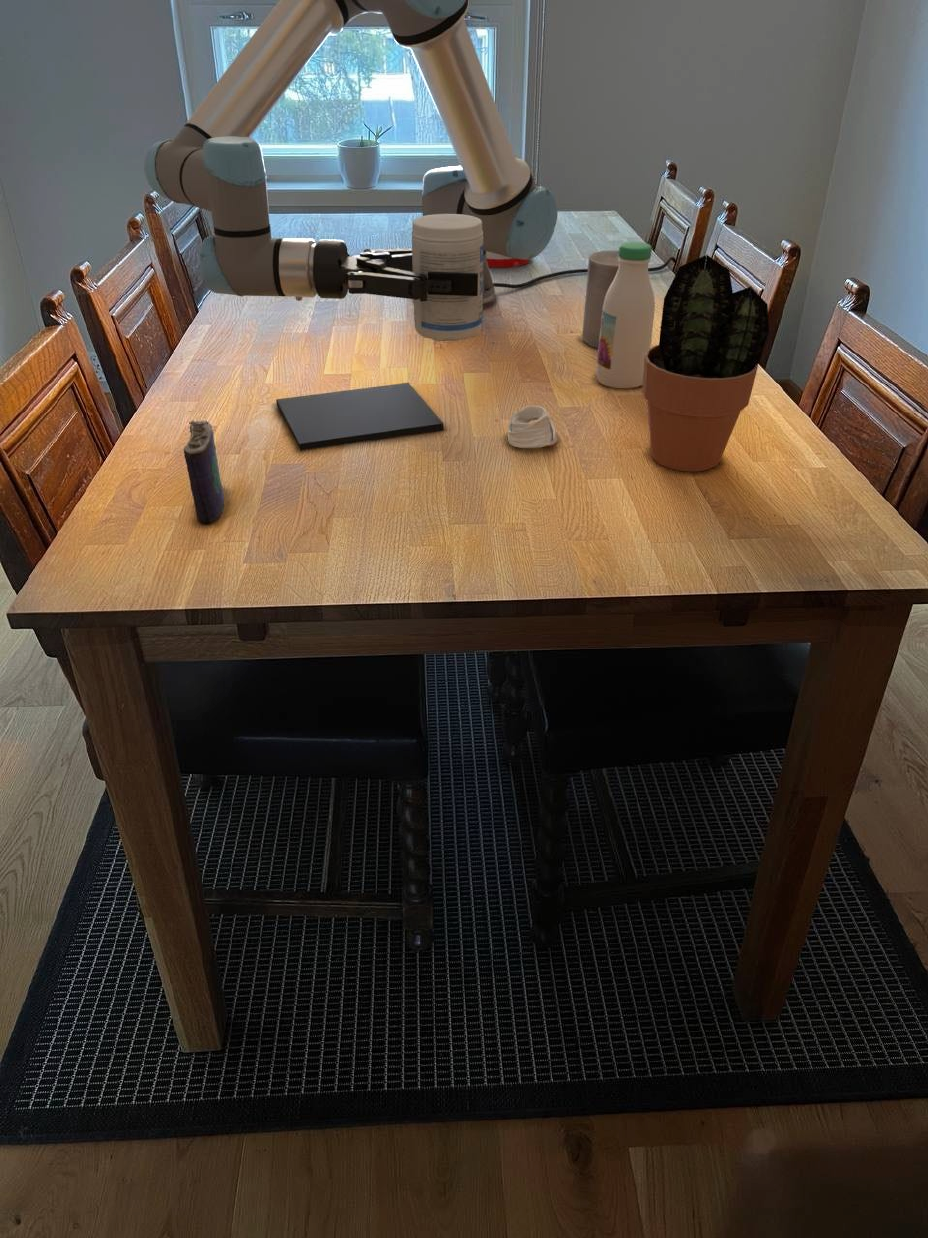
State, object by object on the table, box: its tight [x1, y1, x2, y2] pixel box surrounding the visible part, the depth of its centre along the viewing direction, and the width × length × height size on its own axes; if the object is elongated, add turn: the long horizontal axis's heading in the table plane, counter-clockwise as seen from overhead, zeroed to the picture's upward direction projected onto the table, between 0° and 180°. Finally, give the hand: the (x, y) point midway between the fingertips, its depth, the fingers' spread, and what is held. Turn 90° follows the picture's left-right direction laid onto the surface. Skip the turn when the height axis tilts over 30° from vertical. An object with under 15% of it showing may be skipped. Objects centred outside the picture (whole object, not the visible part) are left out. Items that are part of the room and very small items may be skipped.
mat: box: [275, 382, 444, 452], centre depth 129 cm, size 20×16×1 cm
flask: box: [183, 419, 225, 526], centre depth 104 cm, size 9×3×11 cm, turn 8°
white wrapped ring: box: [507, 405, 558, 449], centre depth 122 cm, size 8×7×5 cm
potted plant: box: [641, 254, 770, 473], centre depth 112 cm, size 14×14×25 cm
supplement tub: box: [411, 214, 484, 342], centre depth 124 cm, size 10×10×15 cm
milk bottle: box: [595, 241, 656, 389], centre depth 136 cm, size 8×8×20 cm
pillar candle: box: [581, 249, 619, 349], centre depth 152 cm, size 10×10×15 cm
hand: (480, 274), depth 124 cm, fingers closed on supplement tub, 9 cm apart
